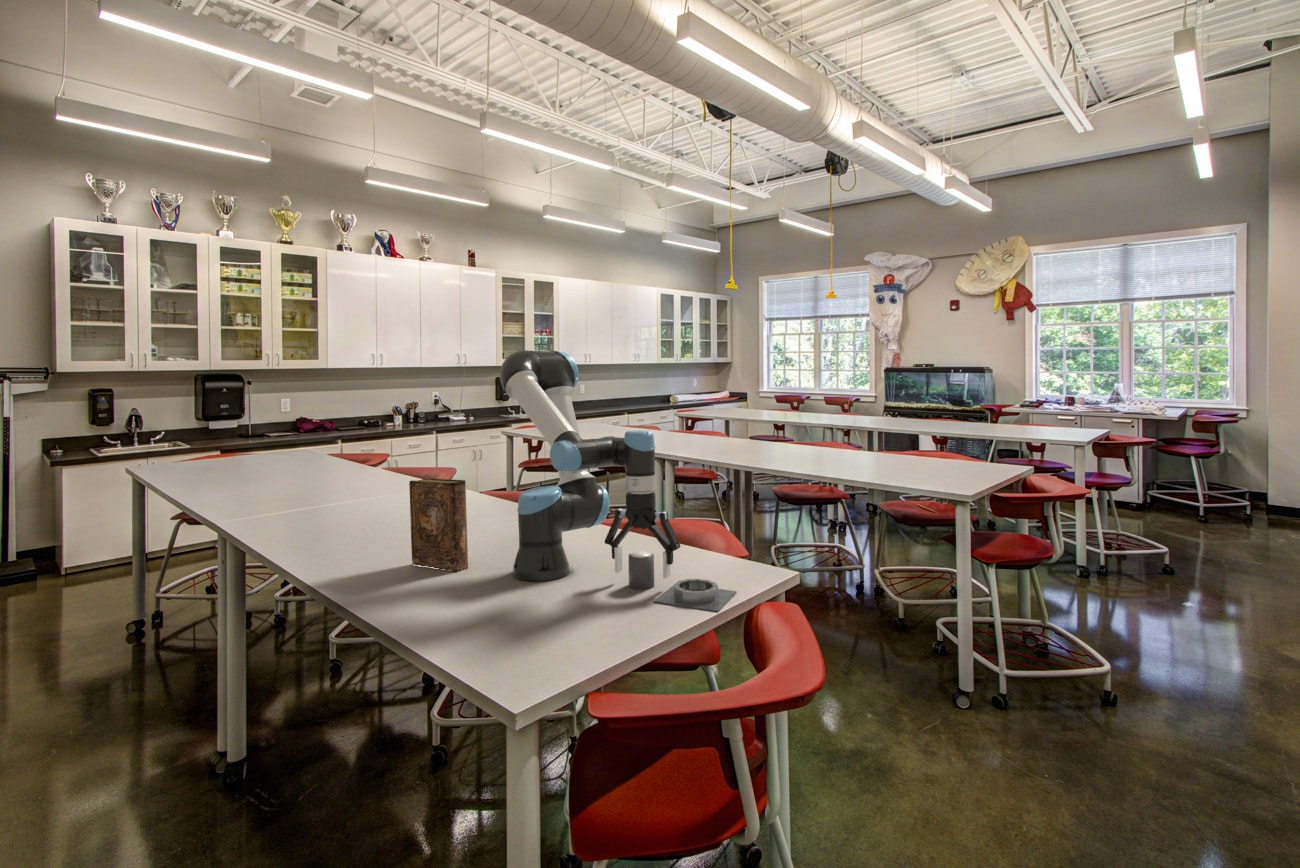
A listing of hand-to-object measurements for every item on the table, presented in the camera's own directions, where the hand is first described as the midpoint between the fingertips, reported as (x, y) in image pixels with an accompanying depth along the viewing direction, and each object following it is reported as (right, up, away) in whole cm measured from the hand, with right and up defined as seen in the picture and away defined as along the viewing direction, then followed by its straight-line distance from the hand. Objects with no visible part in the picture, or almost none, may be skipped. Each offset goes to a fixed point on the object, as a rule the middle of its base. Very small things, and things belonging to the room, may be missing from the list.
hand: (642, 574), depth 160 cm
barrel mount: (+13, -4, -9) cm, 16 cm away
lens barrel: (0, -3, +1) cm, 3 cm away
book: (-58, -2, +19) cm, 61 cm away
